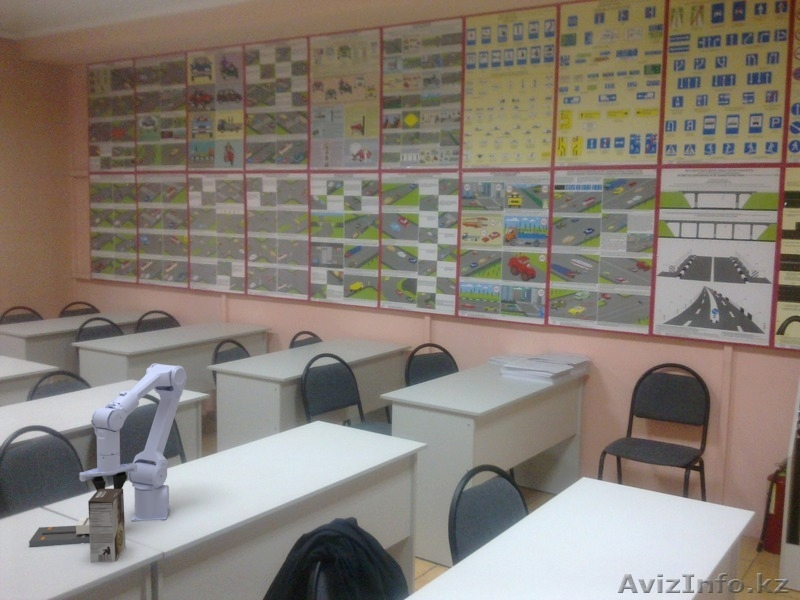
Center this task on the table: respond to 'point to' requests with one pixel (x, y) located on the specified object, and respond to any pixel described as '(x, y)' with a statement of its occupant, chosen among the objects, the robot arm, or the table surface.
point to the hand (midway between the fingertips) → (109, 501)
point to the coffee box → (106, 525)
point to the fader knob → (83, 526)
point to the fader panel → (58, 536)
